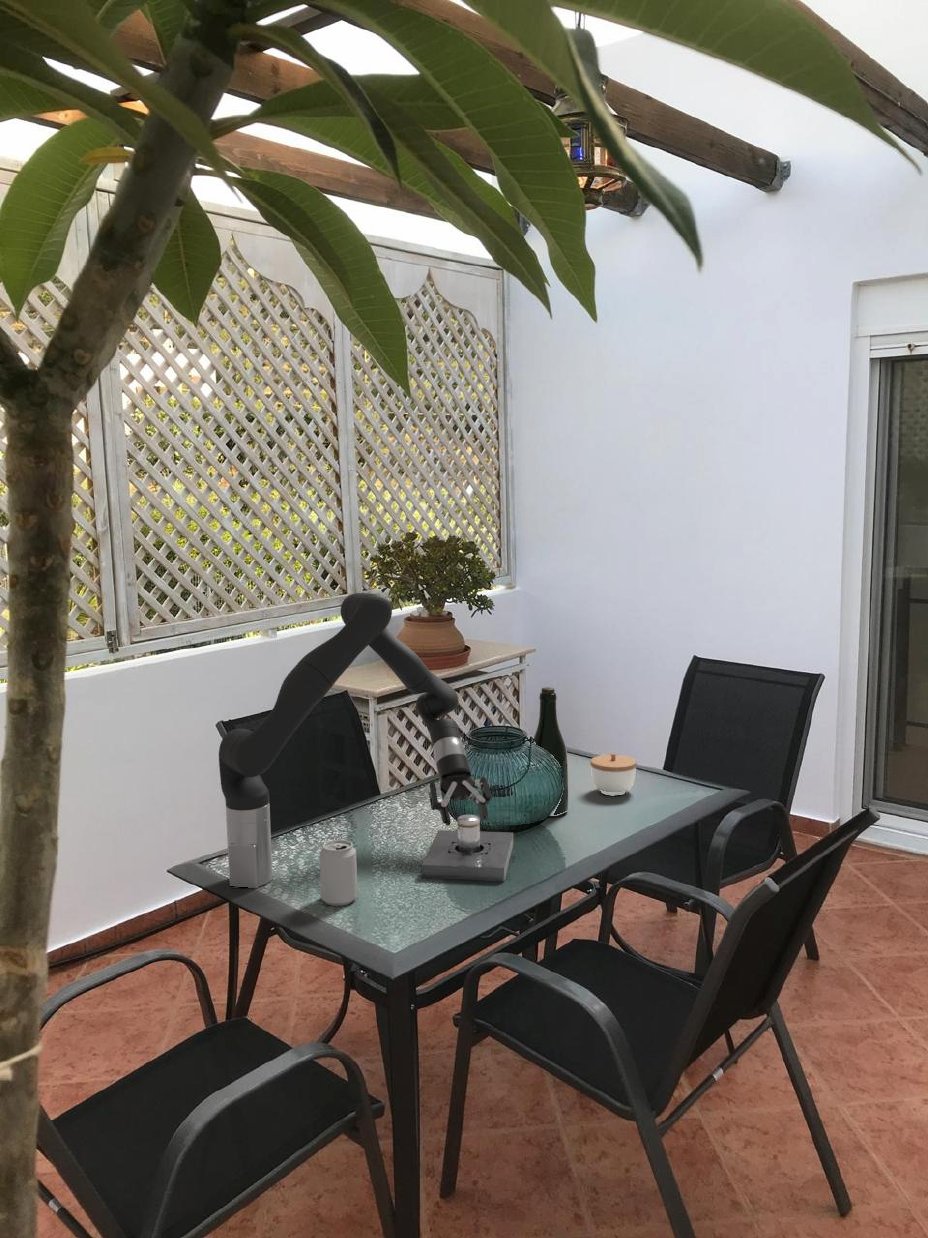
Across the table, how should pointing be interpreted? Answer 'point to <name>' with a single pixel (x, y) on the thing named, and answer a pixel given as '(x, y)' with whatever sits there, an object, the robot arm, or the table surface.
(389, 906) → the table surface
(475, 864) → the plate
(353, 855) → the can
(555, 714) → the dark wine bottle
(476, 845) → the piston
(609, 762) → the lidded bowl
